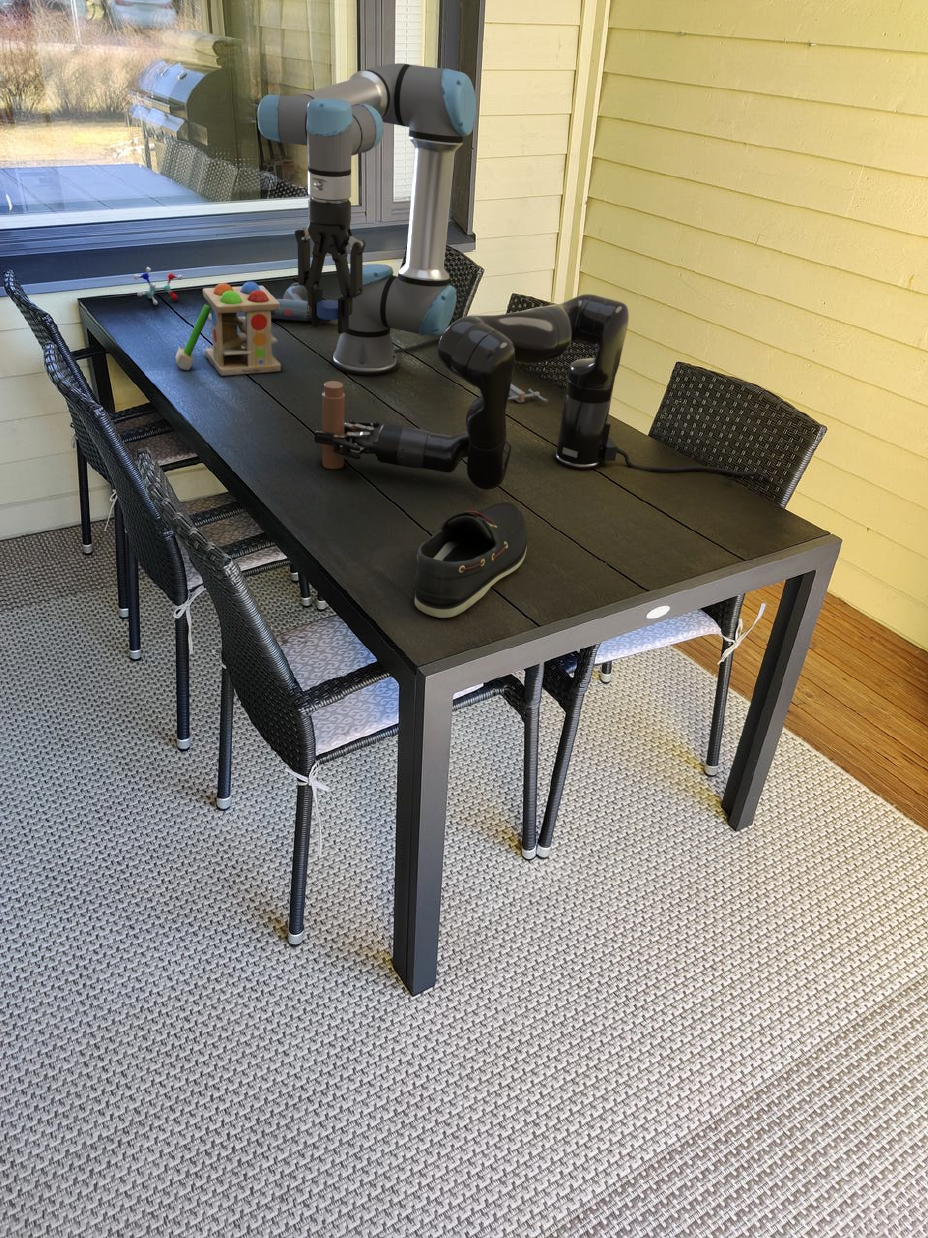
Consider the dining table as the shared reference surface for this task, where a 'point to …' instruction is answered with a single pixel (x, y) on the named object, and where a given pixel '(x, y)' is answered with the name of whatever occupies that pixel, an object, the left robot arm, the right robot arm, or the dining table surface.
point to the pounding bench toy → (229, 347)
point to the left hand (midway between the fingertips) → (330, 327)
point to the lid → (327, 309)
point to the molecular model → (154, 288)
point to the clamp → (523, 394)
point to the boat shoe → (468, 558)
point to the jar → (333, 421)
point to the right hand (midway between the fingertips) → (319, 431)
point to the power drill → (294, 305)
